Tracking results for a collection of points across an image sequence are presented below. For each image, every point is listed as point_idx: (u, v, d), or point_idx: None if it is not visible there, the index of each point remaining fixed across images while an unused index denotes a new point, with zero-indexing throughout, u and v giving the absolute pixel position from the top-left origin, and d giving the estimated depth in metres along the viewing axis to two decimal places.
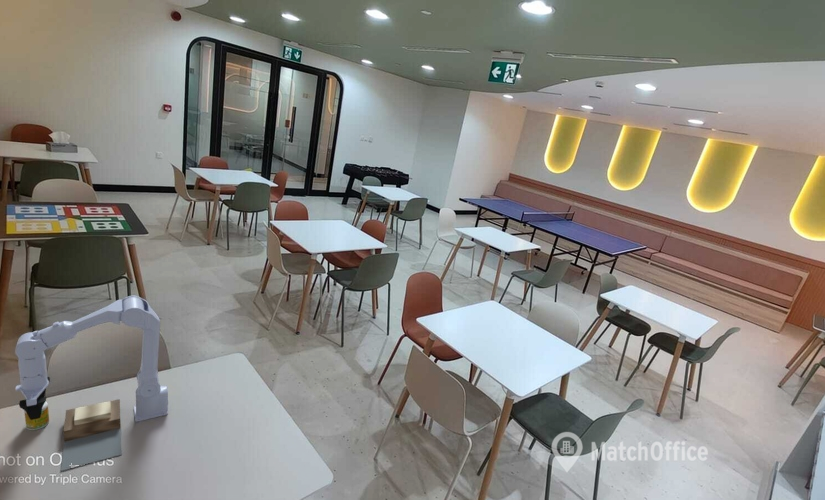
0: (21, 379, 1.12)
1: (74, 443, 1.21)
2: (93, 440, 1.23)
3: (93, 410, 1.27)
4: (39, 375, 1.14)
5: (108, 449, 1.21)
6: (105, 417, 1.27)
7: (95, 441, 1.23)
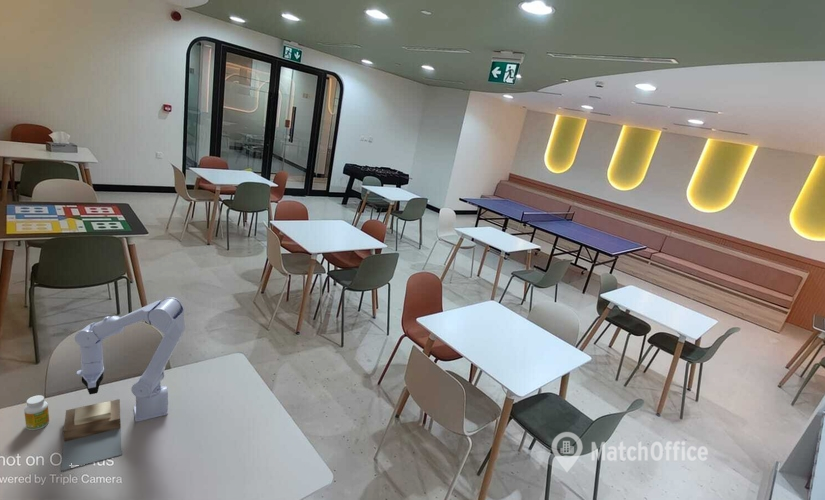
0: (82, 365, 1.27)
1: (74, 443, 1.21)
2: (93, 440, 1.23)
3: (93, 410, 1.27)
4: (97, 361, 1.29)
5: (108, 449, 1.21)
6: (105, 417, 1.27)
7: (95, 441, 1.23)
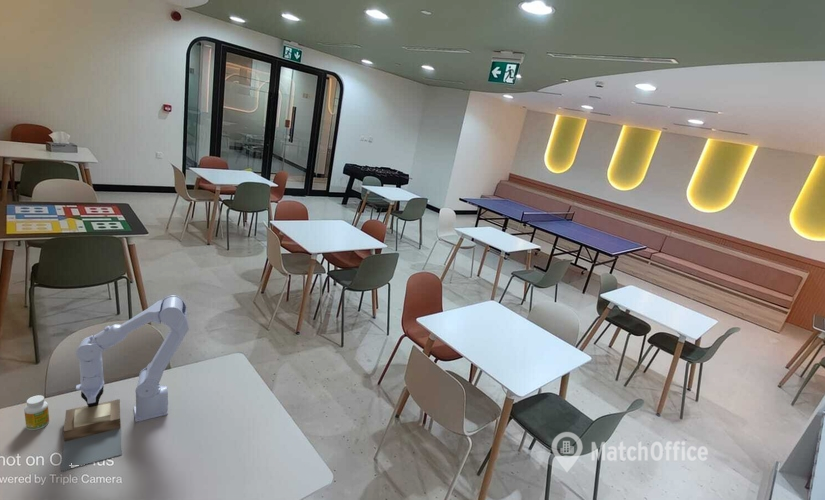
0: (81, 379, 1.23)
1: (74, 443, 1.21)
2: (93, 440, 1.23)
3: (93, 412, 1.26)
4: (97, 375, 1.25)
5: (108, 449, 1.21)
6: (105, 419, 1.26)
7: (95, 441, 1.23)
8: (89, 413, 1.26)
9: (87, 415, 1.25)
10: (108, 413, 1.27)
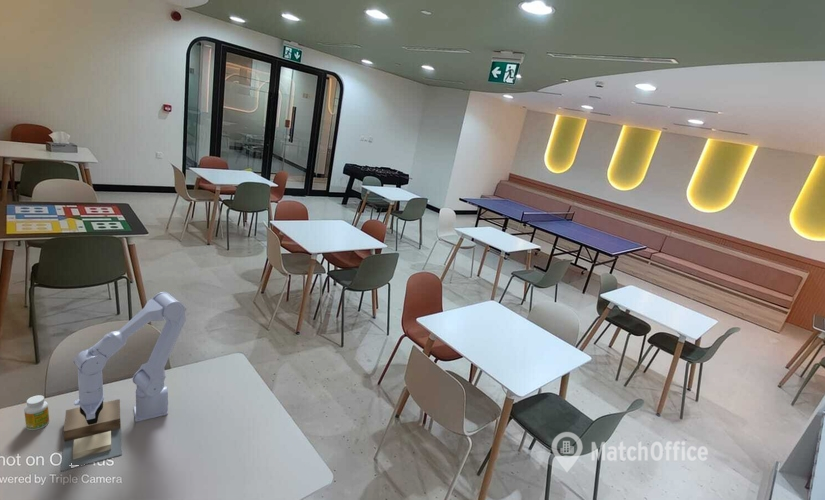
0: (80, 394, 1.18)
1: None
2: None
3: None
4: (97, 390, 1.19)
5: None
6: None
7: None
8: None
9: None
10: None
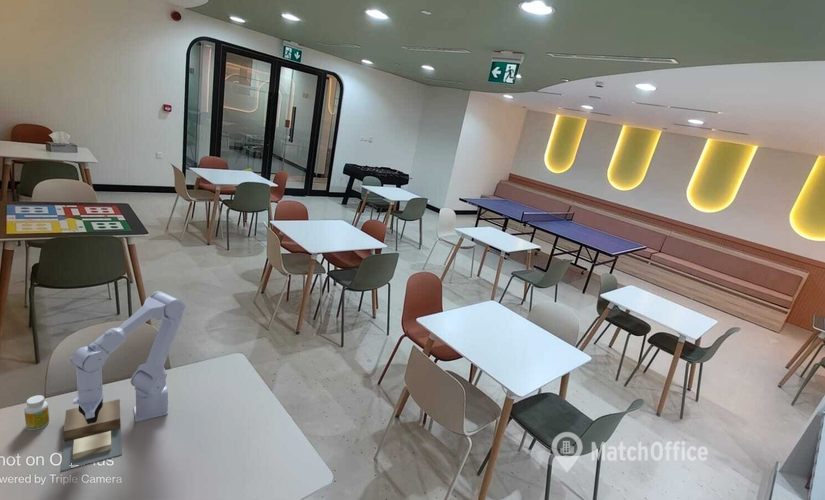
0: (79, 392, 1.14)
1: None
2: None
3: None
4: (96, 388, 1.15)
5: None
6: None
7: None
8: None
9: None
10: None
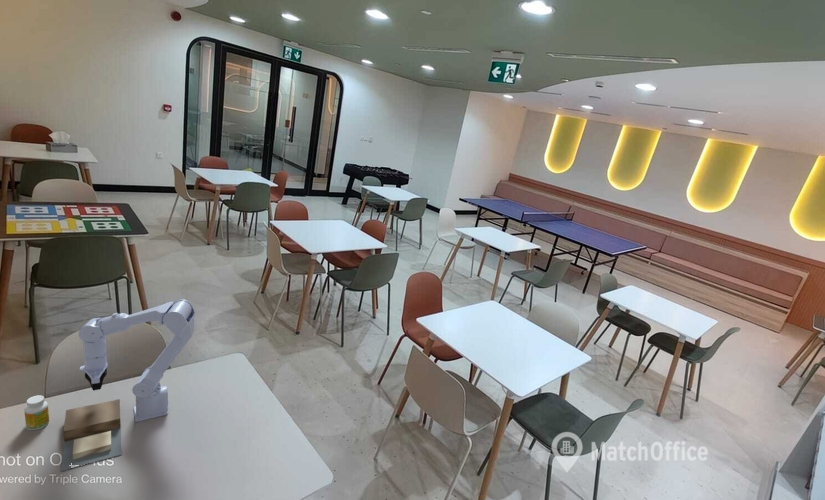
0: (85, 360, 1.25)
1: None
2: None
3: None
4: (101, 357, 1.27)
5: None
6: None
7: None
8: None
9: None
10: None
